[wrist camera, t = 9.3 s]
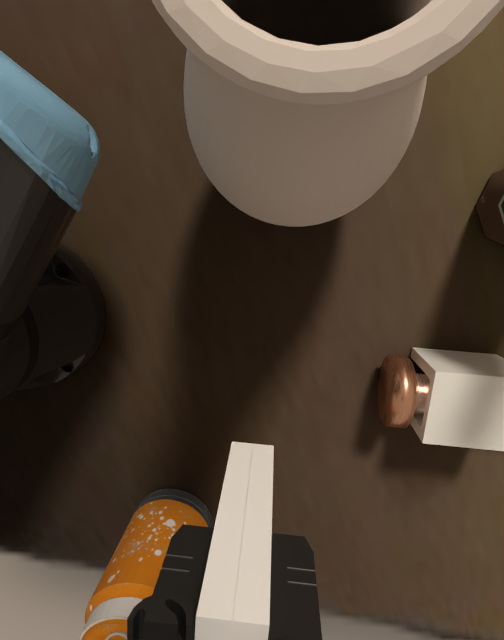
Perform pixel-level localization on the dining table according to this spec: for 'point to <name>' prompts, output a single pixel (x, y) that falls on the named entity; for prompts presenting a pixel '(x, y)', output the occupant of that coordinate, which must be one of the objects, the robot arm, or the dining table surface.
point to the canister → (139, 560)
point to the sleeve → (461, 399)
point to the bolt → (400, 392)
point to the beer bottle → (493, 208)
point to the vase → (310, 94)
